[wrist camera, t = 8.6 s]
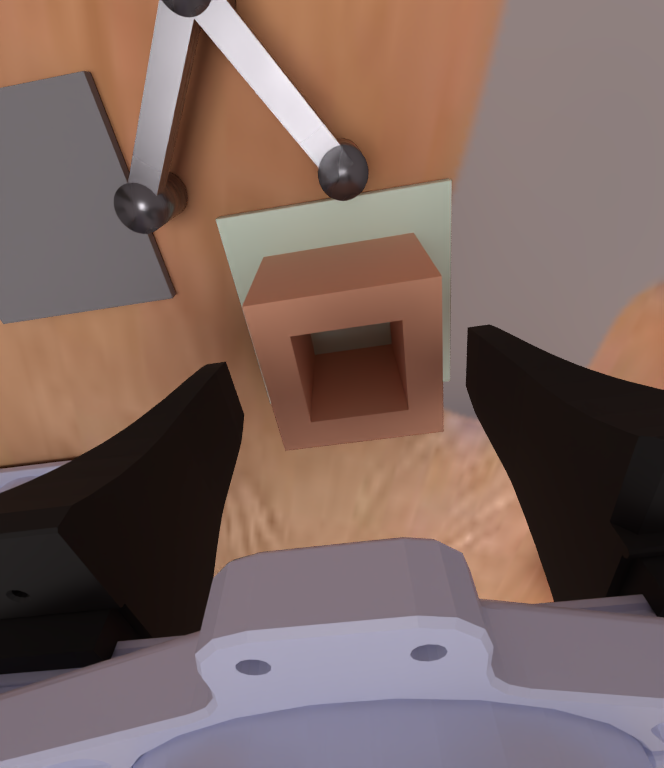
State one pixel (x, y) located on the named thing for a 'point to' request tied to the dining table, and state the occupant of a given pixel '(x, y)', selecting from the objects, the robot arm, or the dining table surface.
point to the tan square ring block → (358, 366)
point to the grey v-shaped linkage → (166, 100)
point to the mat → (66, 207)
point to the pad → (340, 226)
